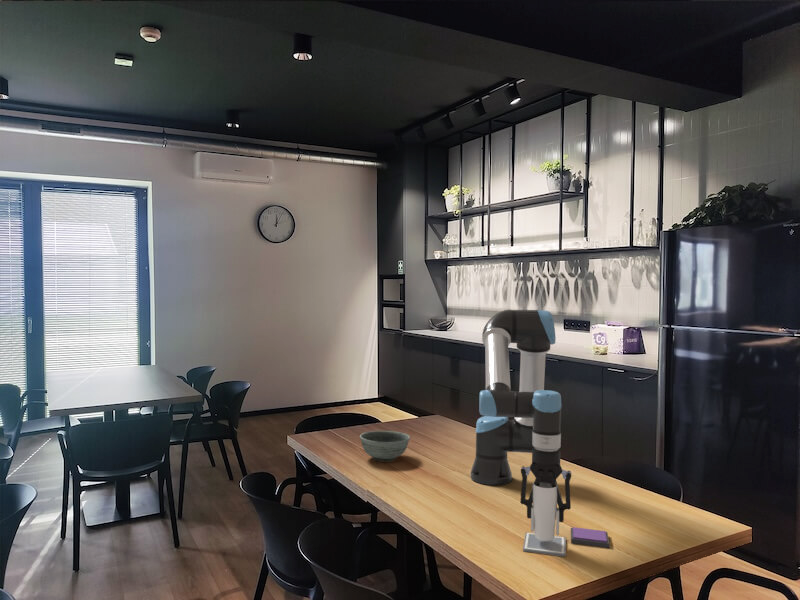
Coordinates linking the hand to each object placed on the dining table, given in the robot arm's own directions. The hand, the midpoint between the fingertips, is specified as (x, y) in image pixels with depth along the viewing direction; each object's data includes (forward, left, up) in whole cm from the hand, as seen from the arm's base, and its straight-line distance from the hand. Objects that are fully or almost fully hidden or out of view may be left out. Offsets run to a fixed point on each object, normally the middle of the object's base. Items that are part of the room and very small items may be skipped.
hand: (544, 531), depth 157 cm
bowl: (-66, +62, -4) cm, 91 cm away
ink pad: (+12, +7, -4) cm, 15 cm away
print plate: (0, 0, -4) cm, 4 cm away
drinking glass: (0, 0, -2) cm, 2 cm away
